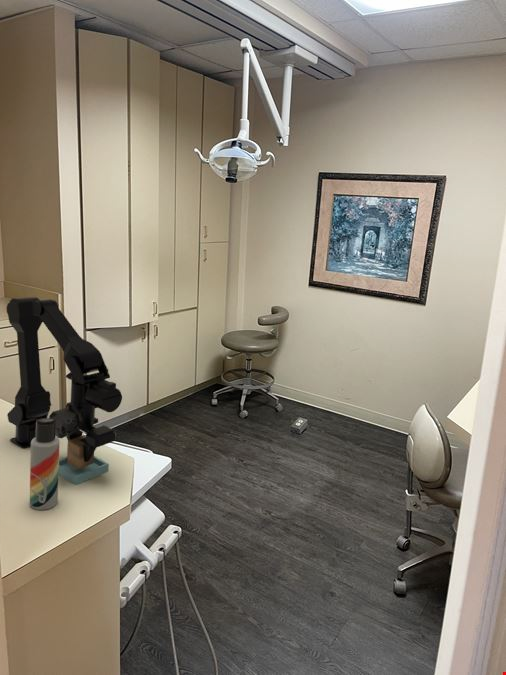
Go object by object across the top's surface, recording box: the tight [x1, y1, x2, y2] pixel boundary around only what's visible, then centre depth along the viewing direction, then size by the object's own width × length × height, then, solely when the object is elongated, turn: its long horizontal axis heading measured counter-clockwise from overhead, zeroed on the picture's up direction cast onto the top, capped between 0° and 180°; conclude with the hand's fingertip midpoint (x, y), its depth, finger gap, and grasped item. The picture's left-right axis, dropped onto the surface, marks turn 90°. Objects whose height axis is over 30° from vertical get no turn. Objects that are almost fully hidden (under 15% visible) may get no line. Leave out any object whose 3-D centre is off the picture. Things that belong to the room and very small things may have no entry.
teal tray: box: [58, 455, 110, 486], centre depth 125 cm, size 10×10×2 cm
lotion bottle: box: [29, 417, 61, 511], centre depth 108 cm, size 6×6×20 cm
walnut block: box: [66, 434, 95, 469], centre depth 124 cm, size 4×4×6 cm
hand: (80, 458), depth 125 cm, fingers closed on walnut block, 4 cm apart
